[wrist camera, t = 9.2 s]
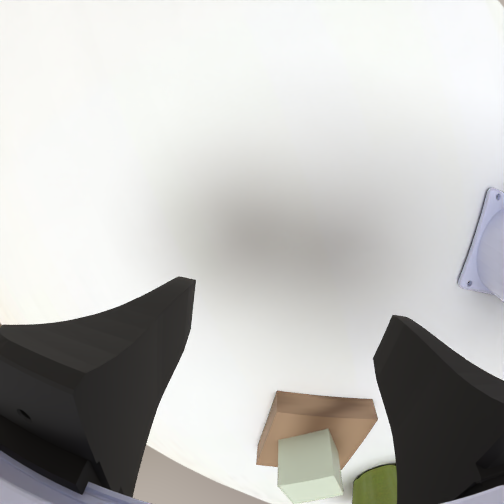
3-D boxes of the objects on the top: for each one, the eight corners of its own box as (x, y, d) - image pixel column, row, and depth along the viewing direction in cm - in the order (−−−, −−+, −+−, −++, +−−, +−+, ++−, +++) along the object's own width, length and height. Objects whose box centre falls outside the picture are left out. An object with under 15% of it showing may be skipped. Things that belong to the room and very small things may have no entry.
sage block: (328, 428, 23) (333, 475, 19) (338, 452, 25) (343, 494, 20) (278, 439, 24) (277, 486, 20) (293, 462, 26) (293, 504, 21)
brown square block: (371, 395, 26) (378, 419, 23) (338, 448, 29) (341, 469, 26) (276, 386, 26) (276, 411, 23) (258, 442, 29) (256, 464, 26)
